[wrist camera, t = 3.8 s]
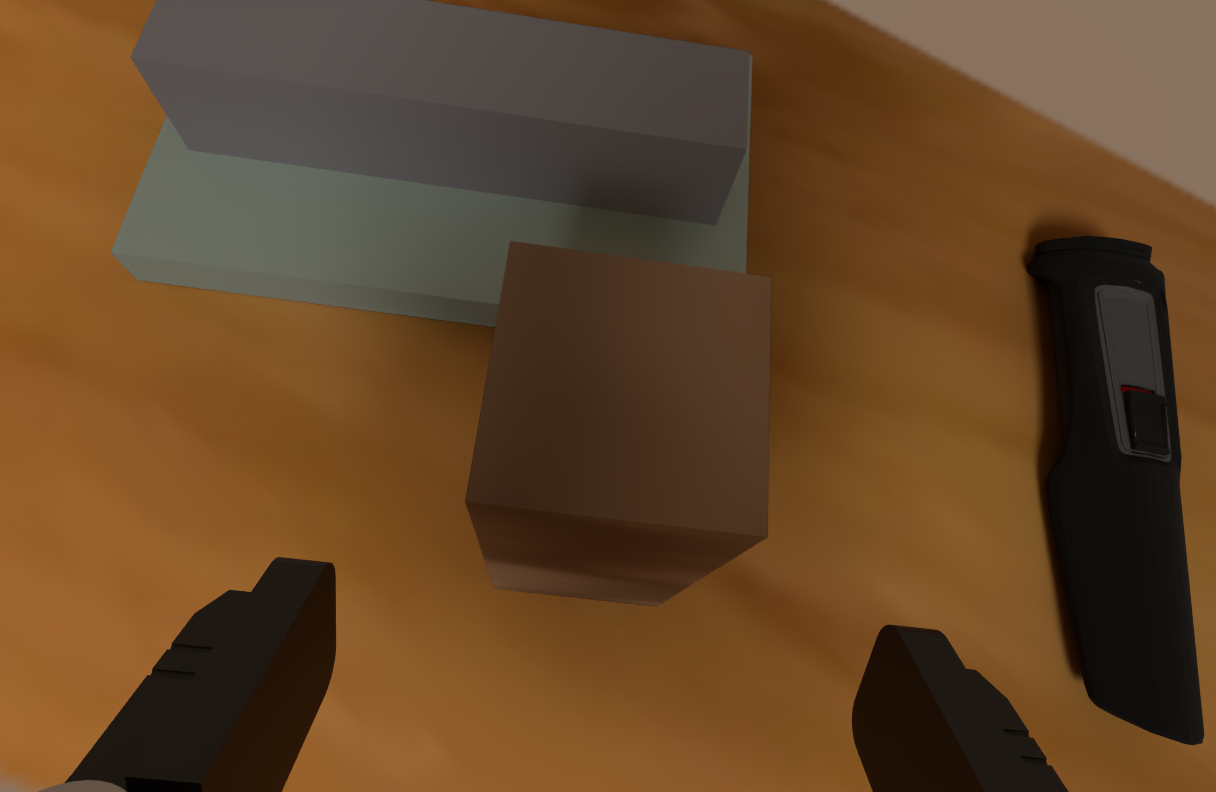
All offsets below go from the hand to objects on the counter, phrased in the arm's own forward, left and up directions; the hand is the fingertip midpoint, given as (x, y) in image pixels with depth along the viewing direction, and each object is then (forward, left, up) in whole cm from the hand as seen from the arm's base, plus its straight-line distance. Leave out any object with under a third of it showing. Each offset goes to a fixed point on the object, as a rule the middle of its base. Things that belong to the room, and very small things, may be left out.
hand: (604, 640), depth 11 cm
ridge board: (+5, -15, -9) cm, 18 cm away
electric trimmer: (-16, -8, -10) cm, 20 cm away
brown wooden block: (0, -4, -9) cm, 10 cm away
